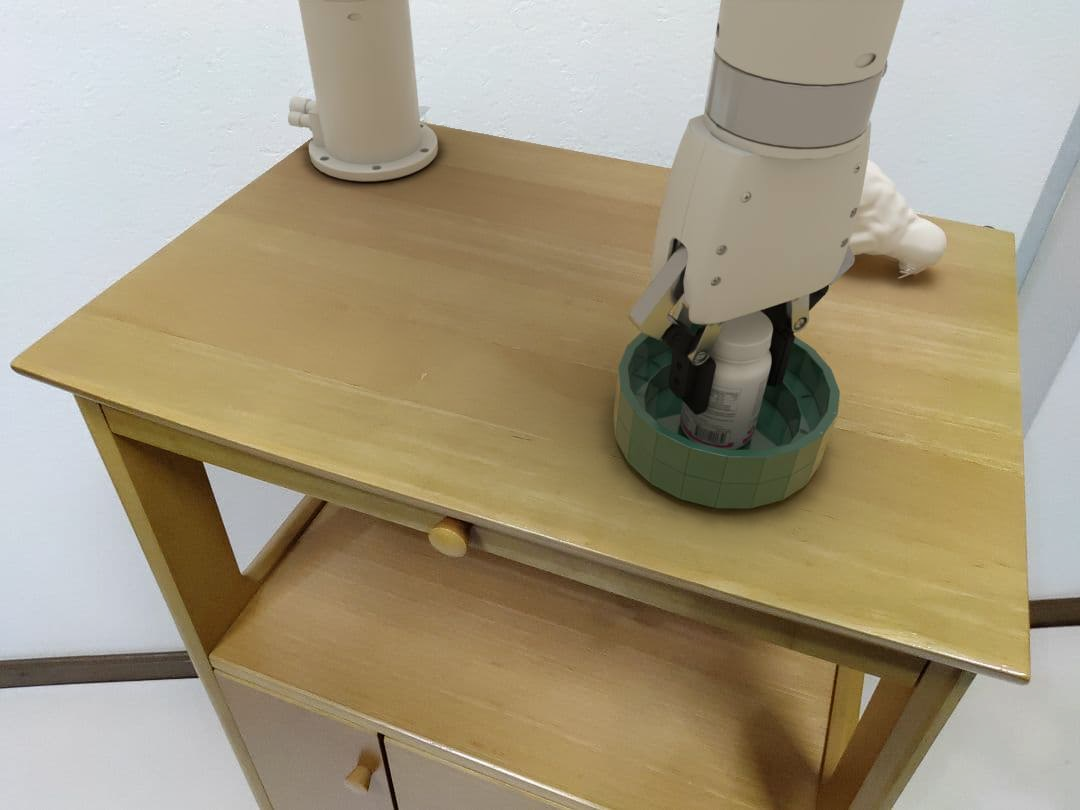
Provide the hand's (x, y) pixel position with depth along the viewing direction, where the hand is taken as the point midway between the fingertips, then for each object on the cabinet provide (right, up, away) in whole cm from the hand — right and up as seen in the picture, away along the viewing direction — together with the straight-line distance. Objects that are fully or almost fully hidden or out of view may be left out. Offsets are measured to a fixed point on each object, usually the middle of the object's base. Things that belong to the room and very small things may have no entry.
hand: (725, 383), depth 50 cm
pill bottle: (0, -3, +3) cm, 4 cm away
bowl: (0, -3, +3) cm, 4 cm away
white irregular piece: (+15, +11, +18) cm, 26 cm away
